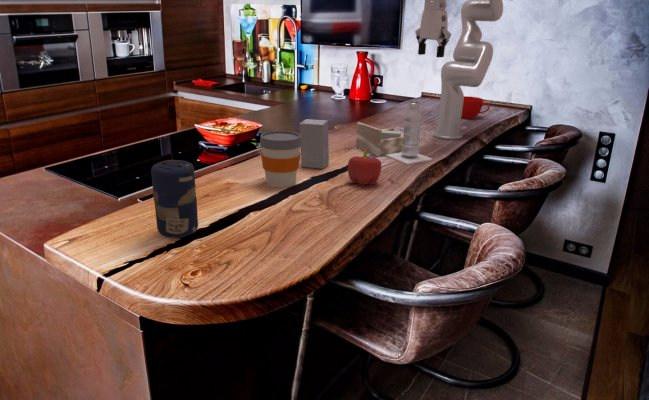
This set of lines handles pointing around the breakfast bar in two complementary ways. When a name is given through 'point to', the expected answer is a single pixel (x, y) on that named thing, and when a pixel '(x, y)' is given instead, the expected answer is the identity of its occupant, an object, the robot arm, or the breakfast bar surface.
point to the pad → (408, 158)
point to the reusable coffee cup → (280, 157)
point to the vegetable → (364, 169)
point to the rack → (376, 141)
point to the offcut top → (390, 134)
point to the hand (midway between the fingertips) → (430, 55)
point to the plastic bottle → (411, 130)
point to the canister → (175, 198)
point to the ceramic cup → (472, 107)
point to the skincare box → (314, 143)
